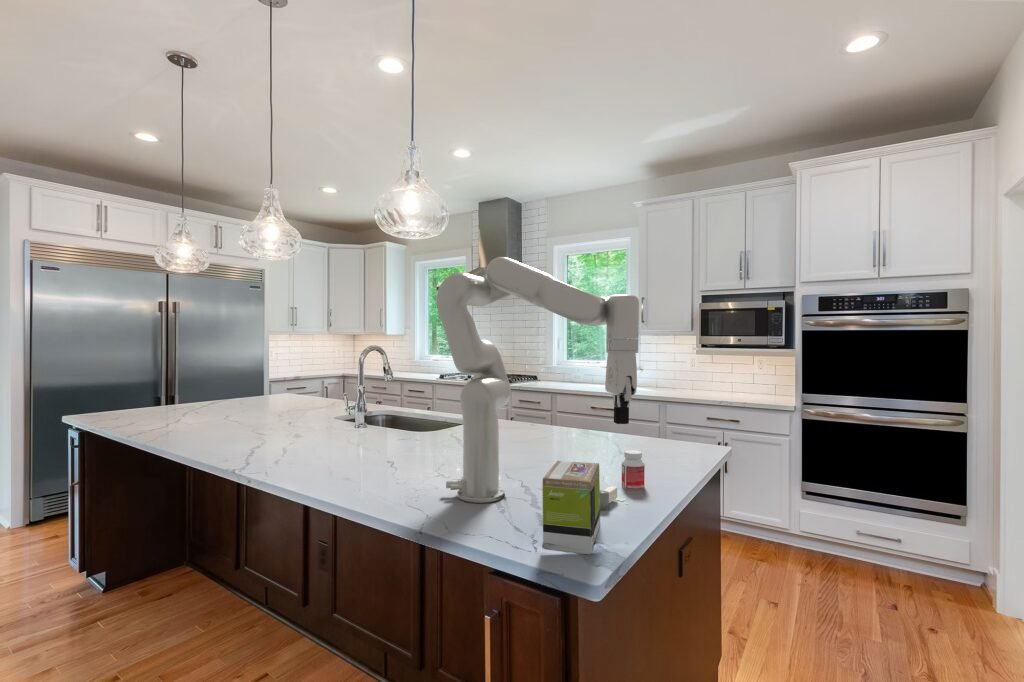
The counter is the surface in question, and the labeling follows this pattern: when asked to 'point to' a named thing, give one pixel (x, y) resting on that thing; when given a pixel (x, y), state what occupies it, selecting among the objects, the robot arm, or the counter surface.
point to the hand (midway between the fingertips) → (621, 423)
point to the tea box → (571, 507)
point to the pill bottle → (633, 470)
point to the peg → (607, 497)
